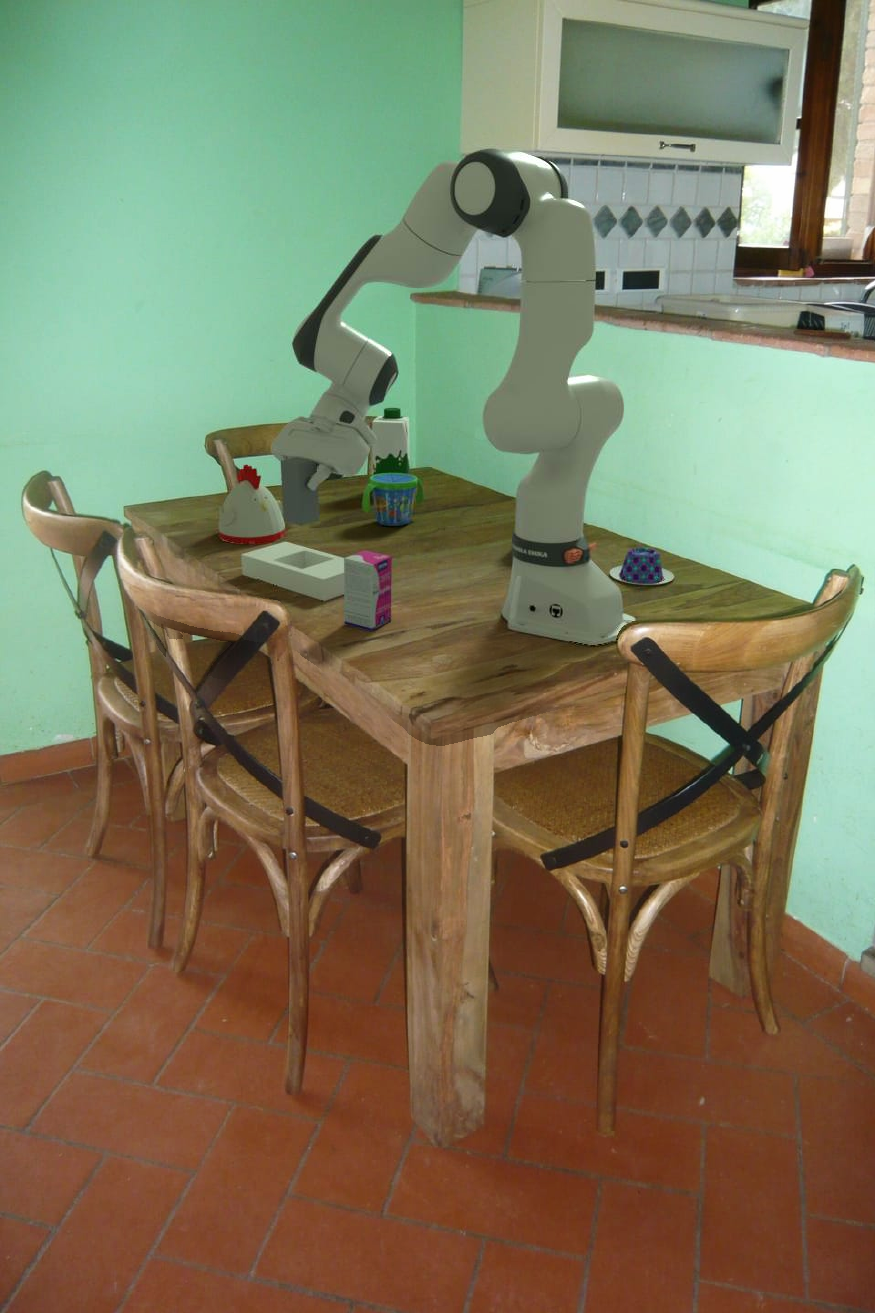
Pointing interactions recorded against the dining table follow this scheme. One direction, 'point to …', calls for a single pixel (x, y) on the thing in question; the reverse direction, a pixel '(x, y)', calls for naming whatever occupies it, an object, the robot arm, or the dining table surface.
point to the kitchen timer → (251, 512)
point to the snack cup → (392, 497)
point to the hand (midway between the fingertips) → (297, 485)
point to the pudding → (642, 568)
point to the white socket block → (297, 569)
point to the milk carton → (391, 443)
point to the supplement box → (367, 590)
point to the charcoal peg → (299, 491)
